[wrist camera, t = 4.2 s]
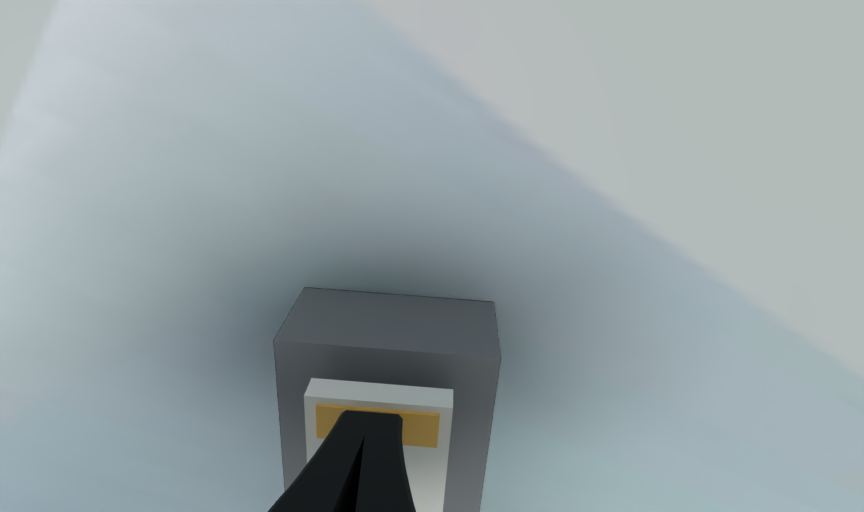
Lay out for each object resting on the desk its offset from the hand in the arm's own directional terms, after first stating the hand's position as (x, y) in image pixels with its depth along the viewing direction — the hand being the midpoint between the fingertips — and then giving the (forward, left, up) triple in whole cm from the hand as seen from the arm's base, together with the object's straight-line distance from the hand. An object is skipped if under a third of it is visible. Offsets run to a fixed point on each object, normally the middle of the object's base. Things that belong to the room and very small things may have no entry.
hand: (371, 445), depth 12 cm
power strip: (-2, -6, -5) cm, 8 cm away
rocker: (0, -1, -2) cm, 2 cm away
